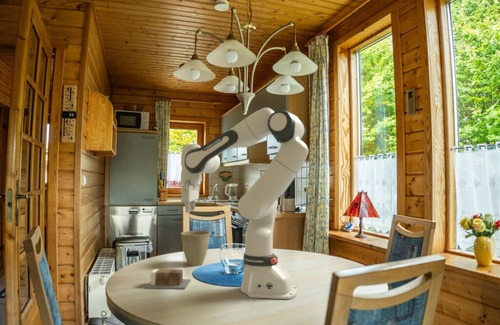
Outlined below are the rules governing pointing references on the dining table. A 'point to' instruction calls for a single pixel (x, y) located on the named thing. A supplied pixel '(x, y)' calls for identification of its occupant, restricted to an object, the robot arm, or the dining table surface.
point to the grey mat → (181, 286)
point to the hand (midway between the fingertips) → (190, 211)
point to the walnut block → (166, 277)
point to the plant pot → (195, 246)
